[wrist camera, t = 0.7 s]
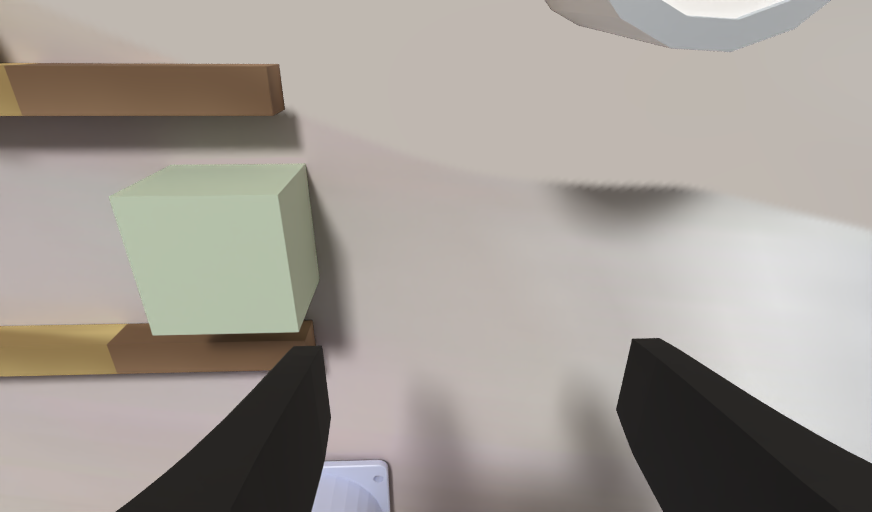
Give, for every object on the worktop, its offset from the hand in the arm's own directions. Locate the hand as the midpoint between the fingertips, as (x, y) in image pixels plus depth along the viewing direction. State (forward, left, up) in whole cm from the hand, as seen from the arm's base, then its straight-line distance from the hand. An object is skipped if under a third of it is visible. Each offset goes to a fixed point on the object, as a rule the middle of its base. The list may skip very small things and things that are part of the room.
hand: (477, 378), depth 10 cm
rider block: (0, +8, -10) cm, 12 cm away
